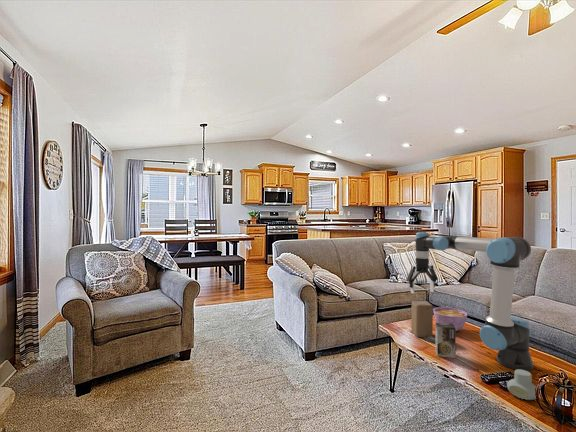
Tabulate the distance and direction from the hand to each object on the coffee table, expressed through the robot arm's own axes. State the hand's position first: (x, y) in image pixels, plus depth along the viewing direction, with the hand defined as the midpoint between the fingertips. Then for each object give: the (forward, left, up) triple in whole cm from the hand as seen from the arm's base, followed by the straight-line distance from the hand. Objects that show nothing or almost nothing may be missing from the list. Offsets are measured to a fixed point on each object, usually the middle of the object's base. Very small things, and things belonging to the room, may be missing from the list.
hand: (422, 292), depth 200 cm
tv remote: (-12, -1, -28) cm, 30 cm away
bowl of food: (+1, -26, -28) cm, 38 cm away
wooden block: (+2, -2, -28) cm, 28 cm away
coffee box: (-24, +9, -28) cm, 37 cm away
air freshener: (-65, +13, -28) cm, 71 cm away
